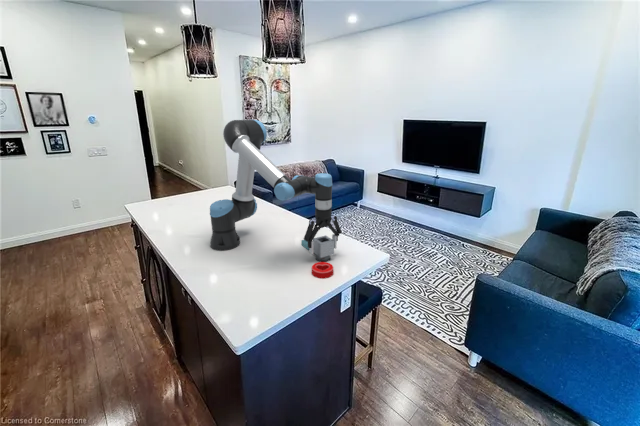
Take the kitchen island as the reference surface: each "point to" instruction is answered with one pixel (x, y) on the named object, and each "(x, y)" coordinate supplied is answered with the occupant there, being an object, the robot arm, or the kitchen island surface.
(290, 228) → the kitchen island surface
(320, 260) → the ratchet
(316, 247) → the hollow square tube
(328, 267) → the decorative ornament
